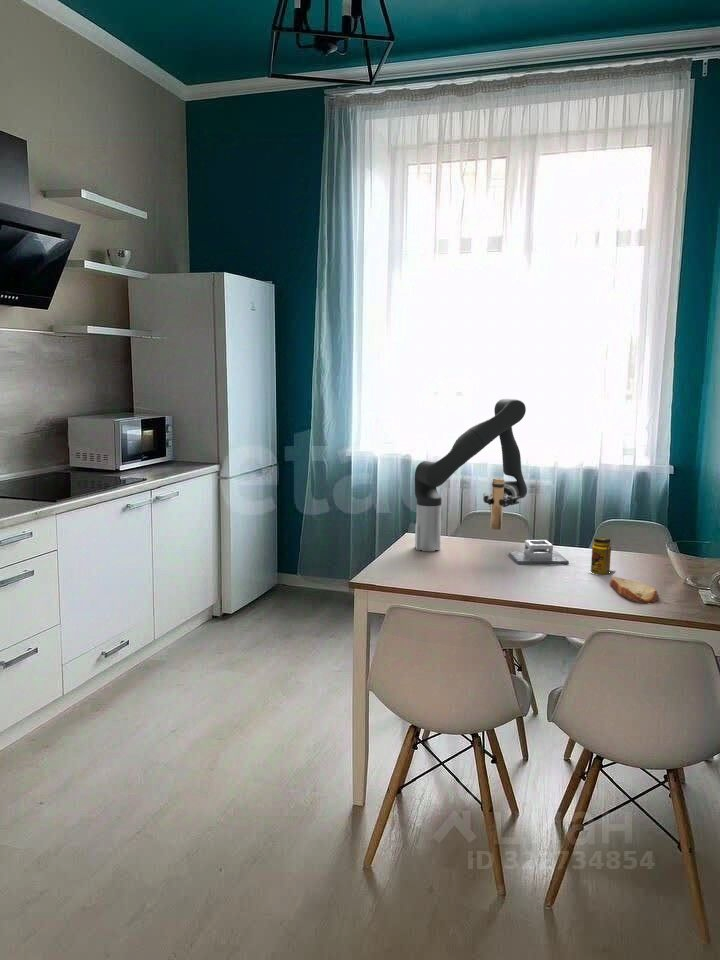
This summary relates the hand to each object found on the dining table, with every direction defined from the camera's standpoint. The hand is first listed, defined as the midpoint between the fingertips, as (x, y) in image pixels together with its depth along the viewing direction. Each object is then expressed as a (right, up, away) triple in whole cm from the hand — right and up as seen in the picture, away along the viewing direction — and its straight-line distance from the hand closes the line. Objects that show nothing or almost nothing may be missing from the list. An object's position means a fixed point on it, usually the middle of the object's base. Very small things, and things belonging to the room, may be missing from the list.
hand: (495, 502), depth 261 cm
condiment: (+33, -24, -12) cm, 43 cm away
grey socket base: (+16, -21, +4) cm, 26 cm away
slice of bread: (+35, -27, -35) cm, 56 cm away
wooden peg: (+1, -10, +4) cm, 10 cm away
